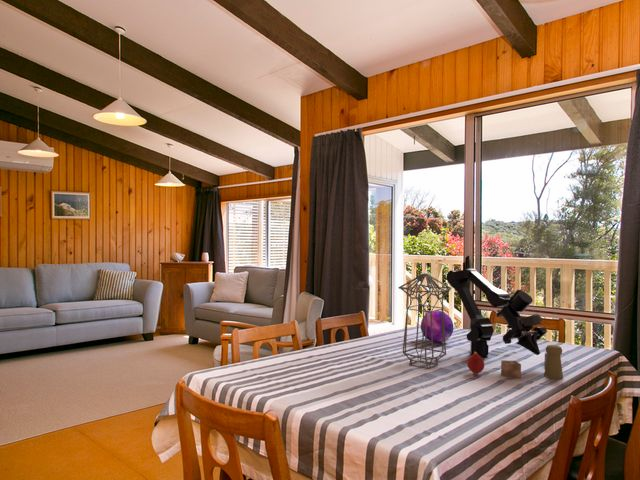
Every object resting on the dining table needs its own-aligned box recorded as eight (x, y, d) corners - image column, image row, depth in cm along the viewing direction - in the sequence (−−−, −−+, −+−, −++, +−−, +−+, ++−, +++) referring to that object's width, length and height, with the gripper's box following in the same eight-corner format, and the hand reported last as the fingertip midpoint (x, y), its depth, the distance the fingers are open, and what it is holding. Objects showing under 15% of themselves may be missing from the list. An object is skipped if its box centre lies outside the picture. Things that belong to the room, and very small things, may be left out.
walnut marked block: (506, 378, 162) (506, 363, 162) (501, 374, 167) (501, 359, 167) (520, 378, 162) (521, 363, 162) (515, 374, 167) (515, 360, 167)
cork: (565, 379, 162) (566, 347, 162) (546, 378, 163) (547, 346, 163) (560, 374, 168) (560, 344, 168) (542, 373, 169) (542, 343, 169)
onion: (484, 373, 168) (484, 350, 168) (484, 377, 162) (484, 354, 162) (467, 371, 169) (467, 349, 170) (466, 375, 164) (467, 352, 164)
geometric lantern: (452, 365, 177) (454, 273, 177) (431, 374, 166) (433, 276, 165) (416, 357, 188) (417, 270, 188) (393, 365, 177) (395, 272, 176)
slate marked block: (544, 366, 180) (544, 352, 180) (544, 363, 185) (544, 350, 185) (559, 368, 178) (559, 354, 178) (558, 365, 182) (559, 351, 182)
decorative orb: (457, 346, 212) (457, 313, 212) (423, 345, 213) (424, 312, 213) (448, 339, 227) (449, 308, 227) (417, 338, 228) (418, 308, 228)
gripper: (509, 307, 171) (535, 343, 161) (543, 305, 179) (569, 339, 170) (492, 325, 178) (515, 361, 168) (525, 322, 186) (550, 356, 176)
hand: (538, 354), depth 170 cm, fingers closed
